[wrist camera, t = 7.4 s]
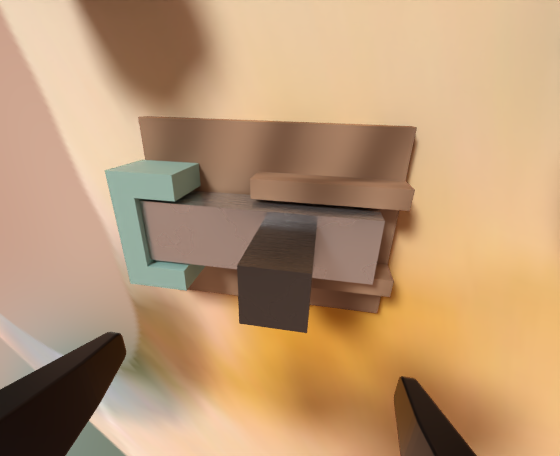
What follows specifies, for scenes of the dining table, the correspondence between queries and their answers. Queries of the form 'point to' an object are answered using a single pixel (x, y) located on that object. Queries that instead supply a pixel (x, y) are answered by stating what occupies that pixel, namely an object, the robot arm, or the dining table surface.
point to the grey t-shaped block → (267, 247)
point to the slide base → (296, 180)
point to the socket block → (126, 203)
